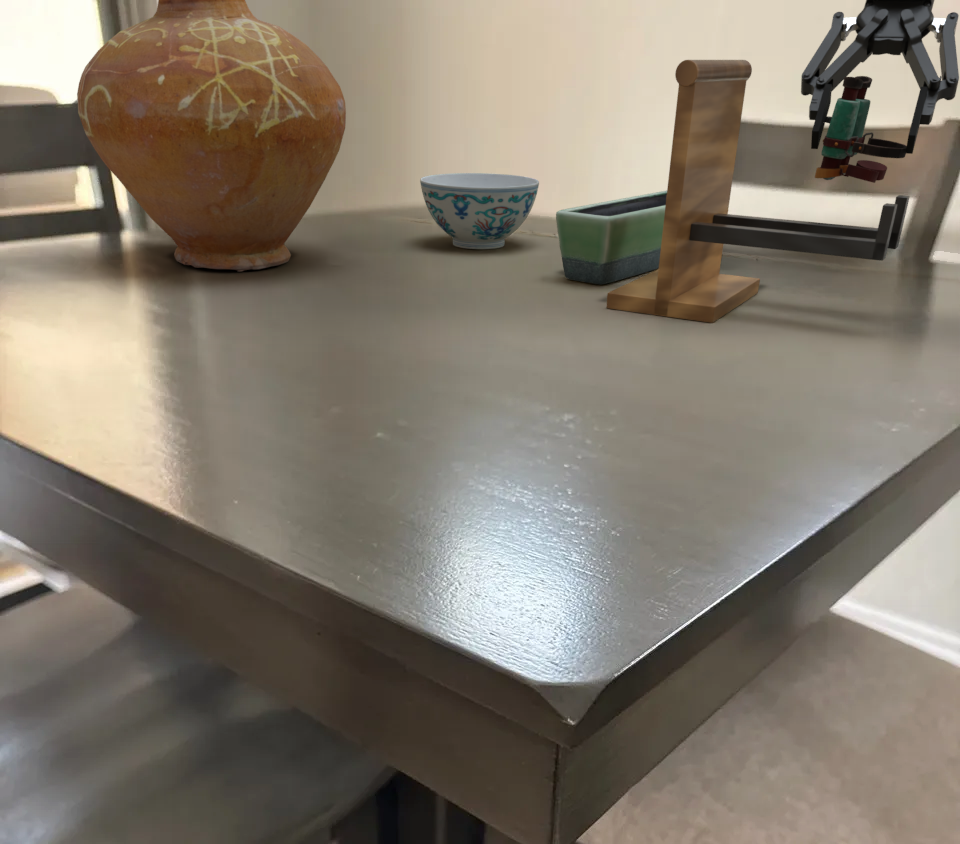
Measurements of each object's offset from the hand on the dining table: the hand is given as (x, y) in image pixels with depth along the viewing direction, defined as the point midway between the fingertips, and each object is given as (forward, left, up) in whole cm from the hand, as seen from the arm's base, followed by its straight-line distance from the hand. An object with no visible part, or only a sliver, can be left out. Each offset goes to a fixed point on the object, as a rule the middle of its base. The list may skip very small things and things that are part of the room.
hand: (861, 142), depth 110 cm
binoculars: (0, -3, -4) cm, 5 cm away
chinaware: (+43, +11, -14) cm, 47 cm away
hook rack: (+3, +27, -14) cm, 30 cm away
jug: (+61, +38, -14) cm, 73 cm away
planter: (+20, +13, -14) cm, 28 cm away
